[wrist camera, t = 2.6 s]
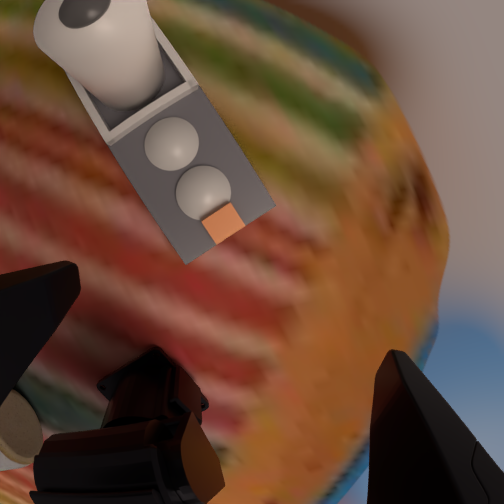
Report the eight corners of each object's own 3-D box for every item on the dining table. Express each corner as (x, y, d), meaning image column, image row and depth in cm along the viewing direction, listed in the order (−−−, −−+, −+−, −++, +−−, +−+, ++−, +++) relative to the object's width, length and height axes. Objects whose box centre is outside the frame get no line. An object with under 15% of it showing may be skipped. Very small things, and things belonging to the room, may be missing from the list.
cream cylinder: (116, 125, 17) (52, 78, 8) (85, 74, 16) (19, 9, 7) (177, 85, 17) (163, 6, 8) (144, 36, 16) (115, -53, 7)
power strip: (270, 204, 21) (280, 206, 18) (186, 259, 20) (185, 269, 18) (154, 27, 17) (149, 10, 14) (74, 79, 17) (60, 68, 14)
